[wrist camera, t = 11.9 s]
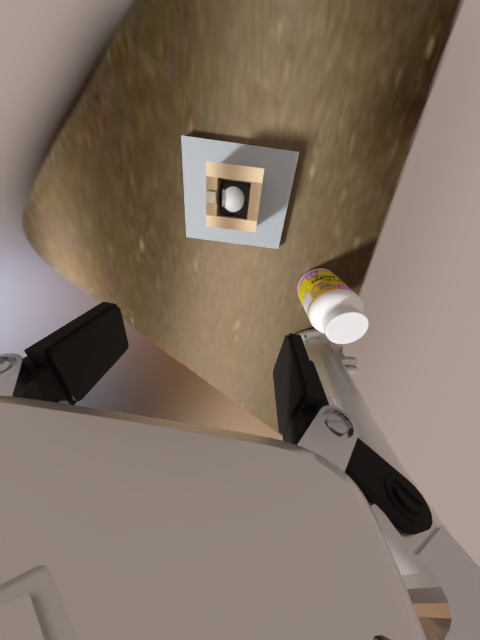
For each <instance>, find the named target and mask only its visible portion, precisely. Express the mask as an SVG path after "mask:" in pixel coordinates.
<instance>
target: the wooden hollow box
mask: <svg viewBox="0 0 480 640" xmlns="http://www.w3.org/2000/svg"><path fill="white" fill-rule="evenodd" d="M263 175H264V168H256V167H248V166H240V165H232V164H224V163H216V162H208V161H206V227H214V228H223V229H231V230H239V231H247V232H256V226H257V219H258V211H259V204H260V197H261V189H262V182H263ZM223 181H225V182H233V183H241V184H249V185H251V188H250V197H249V206H248V215H247V217H246V216H238V215H230V214H222V190H223Z"/></svg>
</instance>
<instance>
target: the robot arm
mask: <svg viewBox="0 0 480 640" xmlns="http://www.w3.org/2000/svg"><path fill="white" fill-rule="evenodd" d="M127 349H128V340H127V336H126V332H125V327H124V323H123V319H122V315H121V310H120V308H119V307H118V306H117V305H116V304H113V303H107V302H102V303H100V304H99V305H97V306H96V307H94V308H92V309H91V310H89V311H87V312H86V313H84V314H83V315H81V316H79V317H78V318H76V319H74V320H73V321H71V322H70V323H68V324H66V325H65V326H63V327H61V328H60V329H58V330H57V331H55V332H53V333H52V334H50V335H48V336H47V337H45V338H44V339H42V340H40V341H39V342H37V343H35V344H34V345H32V346H30V347H29V348H27V349H25V350H24V351H25V353H26V354H27V357H25V358H22V357H21V356H20V355H18V354H2V355H0V640H480V568H479V567H478V565H477V564H476V563H475V562H474V561H473V560H472V559H471V558H470V556H469V555H468V554H467V553H466V552H465V551H464V549H463V548H462V547H461V546H460V545H459V544H458V543H457V542H456V540H455V539H454V538H453V537H452V535H451V534H450V532H449V530H448V529H447V528H446V526H445V525H444V524H443V522H442V521H441V519H440V518H439V516H438V515H437V514H436V512H435V511H434V509H433V508H432V507H431V505H430V504H429V502H428V501H427V500H426V498H425V497H424V495H423V494H422V493H421V491H420V490H419V489H418V487H417V486H416V484H415V483H414V481H413V480H412V479H411V477H410V476H409V474H408V473H407V471H406V470H405V468H404V467H403V465H402V464H401V462H400V461H399V459H398V458H397V456H396V454H395V453H394V451H393V449H392V448H391V446H390V445H389V443H388V441H387V439H386V438H385V436H384V434H383V433H382V431H381V429H380V428H379V426H378V424H377V422H376V421H375V419H374V417H373V415H372V414H371V412H370V410H369V408H368V406H367V405H366V403H365V401H364V399H363V397H362V396H361V394H360V392H359V390H358V389H357V387H356V385H355V383H354V381H353V380H352V378H351V376H350V374H357V371H358V370H357V367H356V366H355V365H348V364H346V365H344V364H345V363H349V364H356V362H357V360H356V358H354V357H345V356H344V355H343V353H342V349H343V348H342V344H336V343H334V342H332V341H330V340H329V339H328V338H327V336H326V334H325V333H322V332H320V331H318V330H316V329H309V330H304V331H301V332H299V333H297V334H291V333H290V334H289V336H288V335H286V336H285V339H284V341H283V344H282V347H281V350H280V353H279V355H278V358H277V361H276V364H275V367H274V370H273V378H274V388H275V398H276V408H277V418H278V428H279V433H280V434H283V441H281V440H276V439H273V438H268V437H263V436H257V435H252V434H246V433H241V432H236V431H230V430H223V429H218V428H211V427H205V426H199V425H194V424H188V423H181V422H175V421H169V420H163V419H157V418H150V417H145V416H138V415H132V414H126V413H119V412H113V411H107V410H100V409H94V408H88V407H81V406H75V405H74V404H75V403H76V402H77V401H80V400H81V399H82V398H83V397H85V395H86V394H87V393H88V392H89V391H90V390H91V389H92V388H93V387H94V386H95V384H96V383H97V382H98V381H99V380H100V379H101V378H102V377H103V375H105V373H106V372H107V371H108V370H109V369H110V368H111V367H112V366H113V365H114V363H116V361H117V360H118V359H119V358H120V357H121V356H122V355H123V354H124V353H125V351H126V350H127Z"/></svg>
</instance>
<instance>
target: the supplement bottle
mask: <svg viewBox="0 0 480 640" xmlns="http://www.w3.org/2000/svg"><path fill="white" fill-rule="evenodd" d="M297 293H298V296H299V299H300V301H301V303H302V305H303V307H304V309H305V311H306V313H307V316H308V318H309V320H310V322H311V324H312V325H313V327H314V328H315V329H316V330H318V331H320V332H322V333H325V334H326V336H327V338H328V339H329V340H330V341H332V342H334V343H336V344H348V343H351V342H354V341H356V340H358V339H360V338H361V337H362V336H363V335H364V334H365V333H366V331H367V329H368V326H369V322H368V319H367V317H366V316H365V315H364V314H363V303H362V301H361V299H360V297H359V296H358V295H357V294H356V293H355V292H353V291H352V290H351V289H350V288H349V287H348V286H347V285H346V284H345V283H344V282H342V281H341V280H340V279H339V278H338V277H337V276H336V275H335V274H334V273H333V272H331V271H330V270H327V269H323V268H319V269H314V270H311V271H309V272H307V273H306V274H305V275H304V276H303V277H302V278H301V279H300V281H299V283H298V286H297Z"/></svg>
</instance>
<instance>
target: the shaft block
mask: <svg viewBox="0 0 480 640" xmlns="http://www.w3.org/2000/svg"><path fill="white" fill-rule="evenodd" d="M181 141H182V160H183V180H184V200H185V220H186V237H190V238H198V239H206V240H214V241H221V242H229V243H237V244H245V245H252V246H260V247H268V248H276V249H278V248H279V243H280V239H281V234H282V230H283V225H284V220H285V216H286V211H287V207H288V202H289V198H290V193H291V188H292V184H293V179H294V175H295V170H296V166H297V161H298V156H299V152H296V151H289V150H282V149H275V148H268V147H261V146H253V145H246V144H239V143H232V142H225V141H218V140H210V139H203V138H196V137H189V136H182V135H181ZM206 161H208V162H216V163H224V164H232V165H240V166H248V167H256V168H264V175H263V182H262V189H261V197H260V204H259V211H258V219H257V226H256V232H247V231H239V230H231V229H223V228H214V227H206ZM250 188H251V185H249V184H241V183H233V182H225V181H223V190H222V214H230V215H238V216H246V217H247V215H248V206H249V197H250Z"/></svg>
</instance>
